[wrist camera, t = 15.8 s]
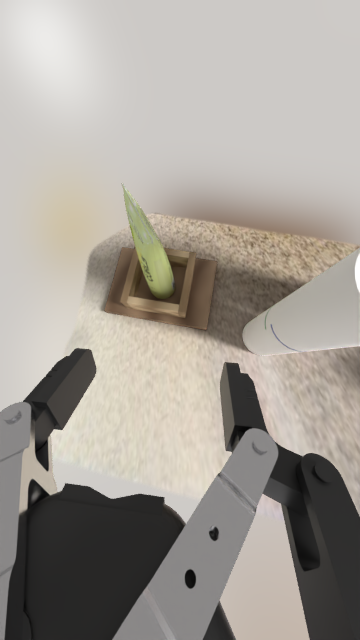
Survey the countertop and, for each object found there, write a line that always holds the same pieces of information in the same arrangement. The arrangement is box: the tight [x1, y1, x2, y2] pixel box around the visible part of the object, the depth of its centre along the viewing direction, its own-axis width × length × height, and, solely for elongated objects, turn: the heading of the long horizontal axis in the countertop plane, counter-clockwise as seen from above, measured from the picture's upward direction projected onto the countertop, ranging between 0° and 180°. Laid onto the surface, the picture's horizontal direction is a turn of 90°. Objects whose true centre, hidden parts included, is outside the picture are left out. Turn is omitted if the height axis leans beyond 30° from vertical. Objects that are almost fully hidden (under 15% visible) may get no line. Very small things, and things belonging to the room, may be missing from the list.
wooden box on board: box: [104, 247, 217, 330], centre depth 36 cm, size 20×14×6 cm
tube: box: [122, 183, 175, 299], centre depth 28 cm, size 6×5×20 cm
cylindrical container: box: [242, 248, 360, 356], centre depth 24 cm, size 7×7×25 cm
